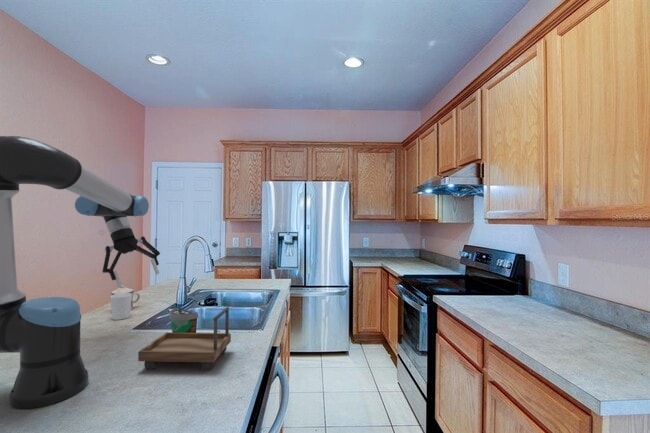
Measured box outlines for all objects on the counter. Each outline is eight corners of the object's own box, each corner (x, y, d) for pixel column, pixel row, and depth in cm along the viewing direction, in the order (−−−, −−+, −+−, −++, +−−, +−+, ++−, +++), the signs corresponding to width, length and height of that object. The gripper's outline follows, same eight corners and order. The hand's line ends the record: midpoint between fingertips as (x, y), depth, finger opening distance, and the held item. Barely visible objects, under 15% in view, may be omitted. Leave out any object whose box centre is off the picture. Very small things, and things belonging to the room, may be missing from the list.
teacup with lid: (114, 314, 144) (114, 288, 144) (108, 310, 150) (108, 285, 150) (142, 308, 152) (142, 284, 152) (136, 304, 159) (136, 282, 159)
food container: (161, 338, 115) (161, 311, 115) (176, 333, 120) (176, 307, 120) (184, 345, 109) (184, 316, 109) (198, 339, 115) (198, 312, 115)
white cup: (124, 320, 135) (124, 297, 135) (106, 320, 135) (106, 297, 135) (135, 314, 143) (135, 292, 143) (118, 314, 143) (118, 292, 143)
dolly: (213, 373, 90) (213, 319, 90) (138, 372, 90) (138, 318, 90) (231, 350, 105) (231, 305, 105) (166, 349, 105) (166, 304, 105)
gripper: (151, 224, 136) (169, 270, 135) (81, 242, 118) (101, 294, 117) (155, 219, 130) (174, 267, 129) (83, 237, 113) (104, 292, 112)
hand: (139, 280), depth 123 cm, fingers open, 13 cm apart
